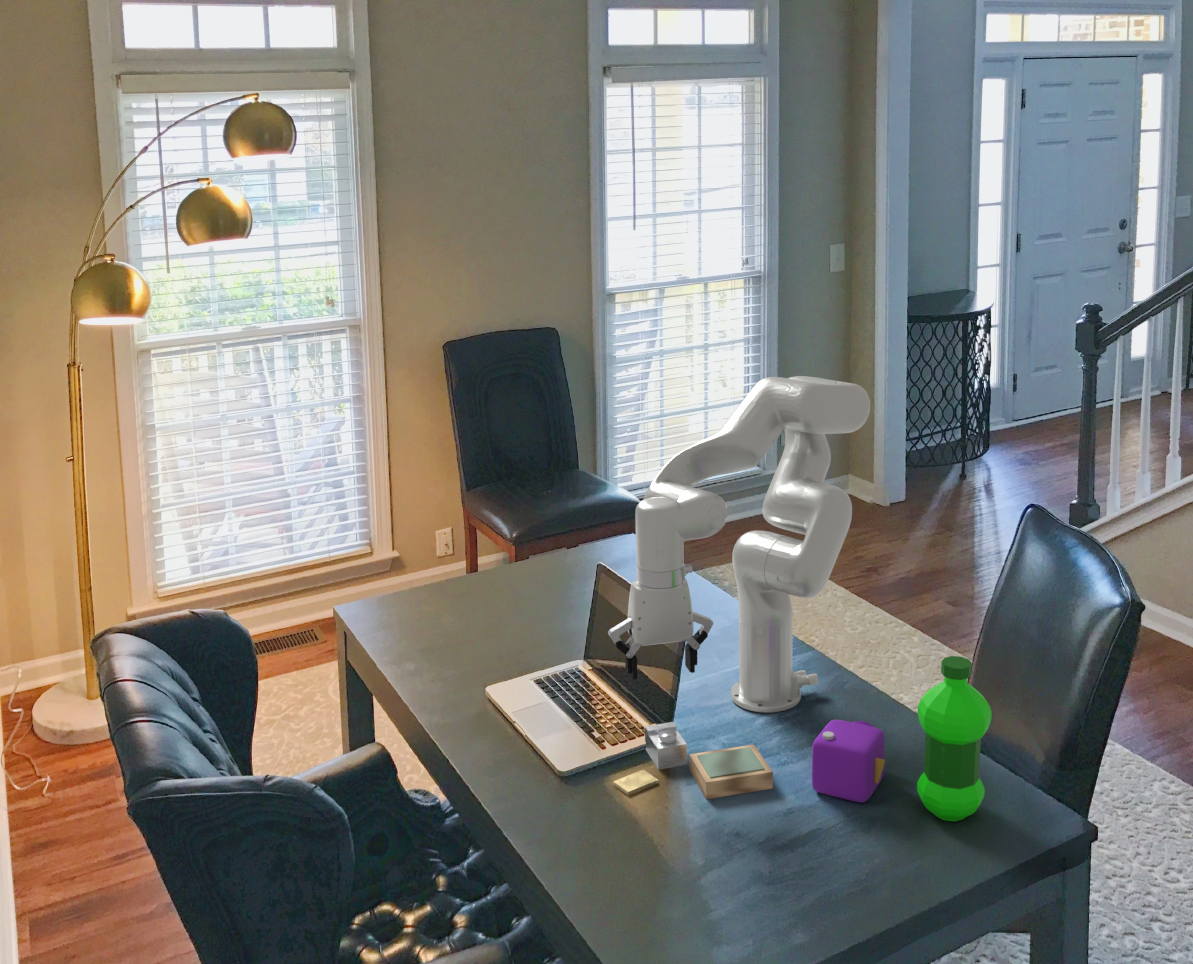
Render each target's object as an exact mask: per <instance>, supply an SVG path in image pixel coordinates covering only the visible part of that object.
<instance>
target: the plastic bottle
mask: <svg viewBox="0 0 1193 964" xmlns="http://www.w3.org/2000/svg"><path fill="white" fill-rule="evenodd" d="M940 662H941V666H940V667H941V668H940V673H941V675H942V676H943V677H944V681H941V682H940V683H938V684H936V685H934V686H933V687H931V688H930V689H928V690H927V691H926V692H925V694H923V696H922V697H921V698H920V701H919V702H918V705H917V717H918V722H919V724H920V726H921V727H922V730H923V731H924V732H925V744H924V745H925V746H924V766H923V767H924V768H923V772H922V774H921V775H920V776H919V778H918V780H917V782H916V791H917V793H918V797H919V798H920V800H921V802H922V803H923V806H924V807H925V809H926V810H928V811H929V812H930V813H932V814H933V815H934V816H935V817H937V818H938V819H941V820H943V821H948V822H949V821H950V822H957V821H962V820H965V818H967V817H969V816H971V815H973V814H975V812H977V810H978V808H980V807H979V806H980V805H981V804H982V801H983V800H984V798H985V793H986V789H985V787H984V784H983V781H982V780H981V778H980V761H981V746H982V745H981V744H982V738H983V737H984V736H985V734H986V733H987V731H988V730H989V728H990V725H991V721H992V715H993V714H992V709H991V706H990V704H989V702H988V701H987V700H986V698H985V697H984V695H983V694H982V693H981V692H980V691H978V690H977V689H976V688H975V687H973V685H971V684H969V683H968V679H969V678H970V677H971V676H972V675H973V673H972V672H973V669H972V668H973V663H972V661H971V660H970V659H968V658H966V657H964V656H957V655H956V656H955V655H949V656H946V657H944V658H943V659H942V660H941V661H940Z"/></svg>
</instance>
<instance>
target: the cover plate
mask: <svg viewBox="0 0 1193 964" xmlns="http://www.w3.org/2000/svg"><path fill="white" fill-rule="evenodd" d="M612 783H613V787H615V788H616V789H618V790H619V791H621V792H622V793H623V794H624V795H626V796H628V797H629V796H631V795H634V794H636V793H638V792H641V791H644V790H646V789H648V788H650V787H653V786H656V785H658V784H659V779H658V778H657V777H655V776H653V775H652V774H650V773H649V772H648V771H646V770H645V769H641V770H638V771H636V772H633V773H631V774H629V775H626V776H623V777H621V778H619V779H616V780H614V781H612Z"/></svg>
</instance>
